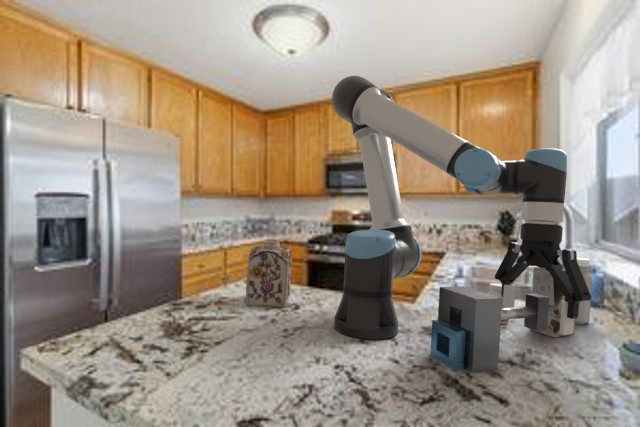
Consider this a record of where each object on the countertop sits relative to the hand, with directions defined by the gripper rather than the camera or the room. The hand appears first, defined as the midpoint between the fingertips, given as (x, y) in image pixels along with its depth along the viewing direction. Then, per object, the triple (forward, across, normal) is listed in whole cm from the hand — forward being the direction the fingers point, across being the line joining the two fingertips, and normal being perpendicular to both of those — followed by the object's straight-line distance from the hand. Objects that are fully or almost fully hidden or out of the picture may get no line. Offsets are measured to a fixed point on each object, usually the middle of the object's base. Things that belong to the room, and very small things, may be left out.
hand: (534, 322), depth 75 cm
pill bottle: (+6, +19, -10) cm, 22 cm away
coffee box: (+6, +9, -18) cm, 21 cm away
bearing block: (+6, 0, +18) cm, 19 cm away
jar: (+6, +16, -34) cm, 38 cm away
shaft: (+1, 0, +8) cm, 9 cm away
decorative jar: (+7, +47, +48) cm, 67 cm away
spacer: (+6, 0, +23) cm, 24 cm away
